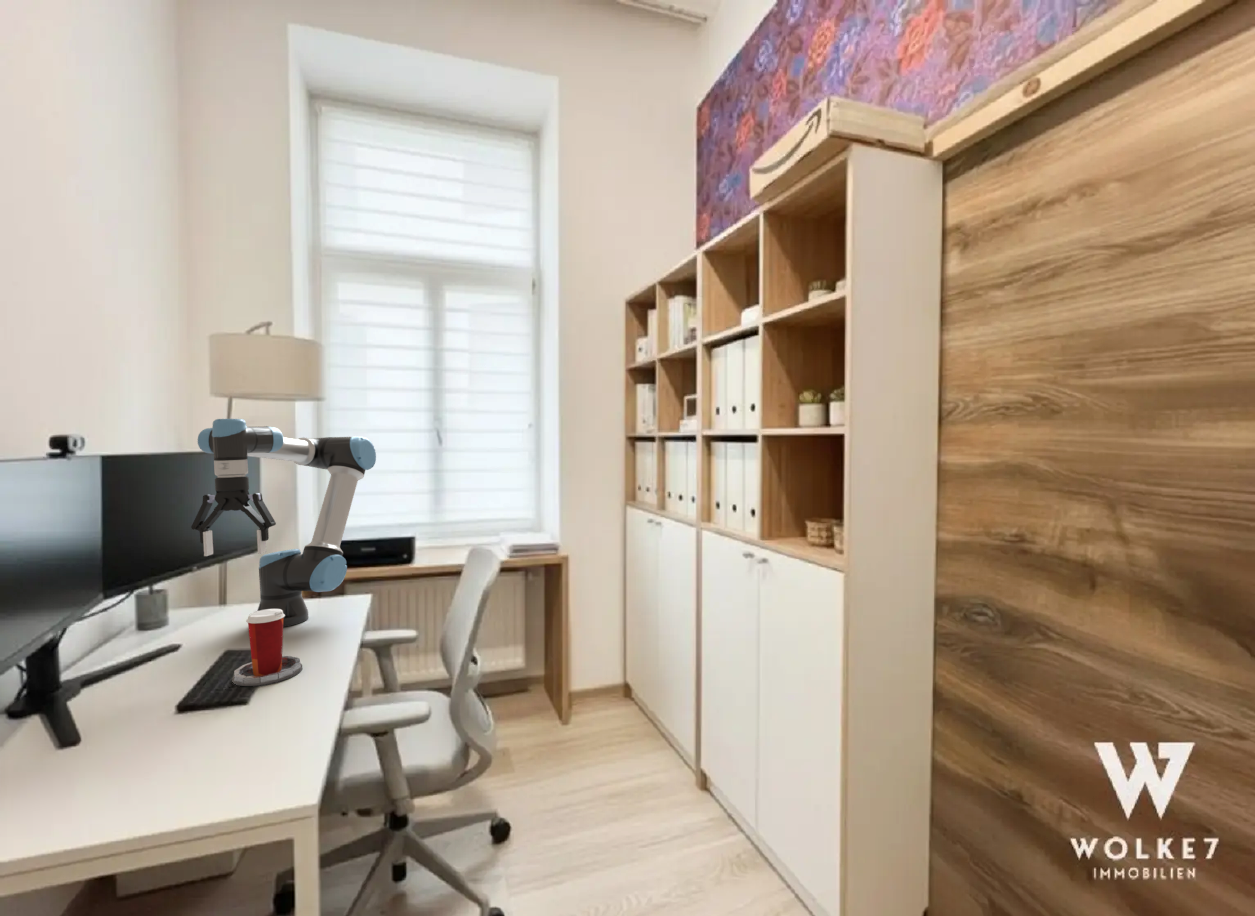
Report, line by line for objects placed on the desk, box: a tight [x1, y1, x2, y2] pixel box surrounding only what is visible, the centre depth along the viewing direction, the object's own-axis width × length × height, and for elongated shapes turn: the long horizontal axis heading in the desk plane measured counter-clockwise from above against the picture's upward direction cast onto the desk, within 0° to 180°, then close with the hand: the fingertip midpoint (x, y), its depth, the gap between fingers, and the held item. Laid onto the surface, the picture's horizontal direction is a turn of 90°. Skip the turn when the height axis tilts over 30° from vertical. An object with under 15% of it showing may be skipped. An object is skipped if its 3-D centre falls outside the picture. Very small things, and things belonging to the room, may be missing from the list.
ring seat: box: [231, 655, 303, 688], centre depth 145 cm, size 15×15×2 cm
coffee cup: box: [245, 609, 285, 676], centre depth 145 cm, size 8×8×15 cm
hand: (235, 554), depth 156 cm, fingers open, 13 cm apart
